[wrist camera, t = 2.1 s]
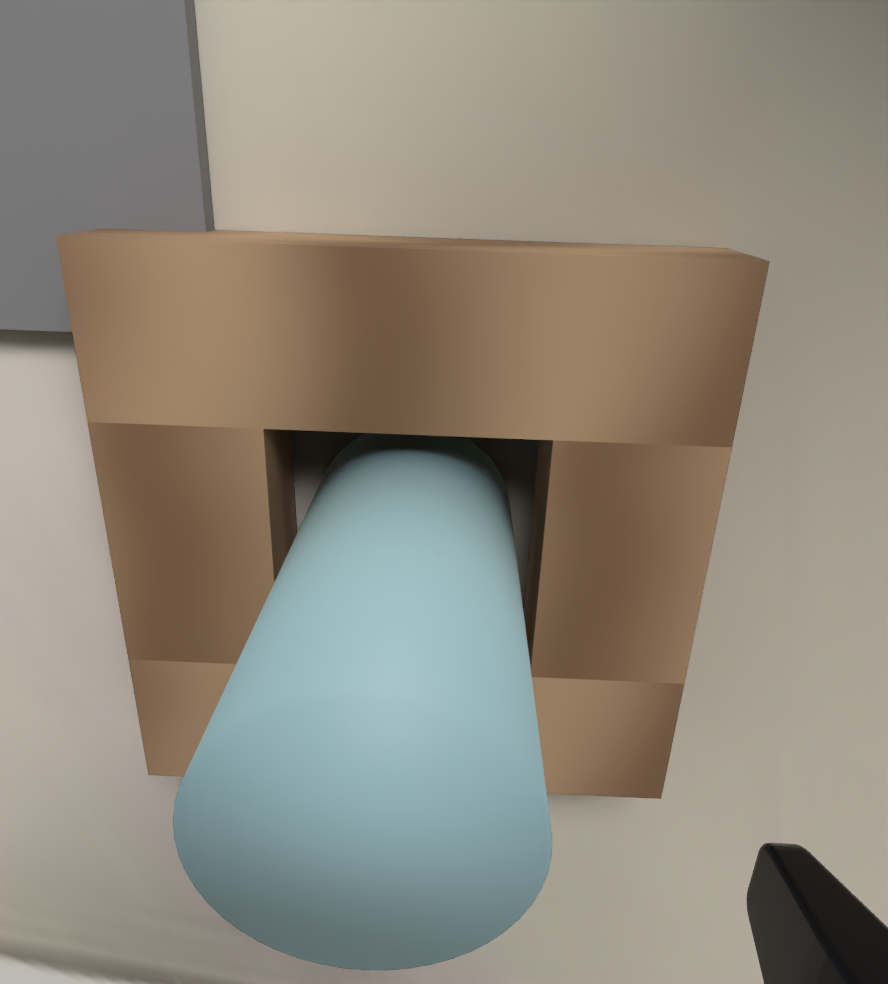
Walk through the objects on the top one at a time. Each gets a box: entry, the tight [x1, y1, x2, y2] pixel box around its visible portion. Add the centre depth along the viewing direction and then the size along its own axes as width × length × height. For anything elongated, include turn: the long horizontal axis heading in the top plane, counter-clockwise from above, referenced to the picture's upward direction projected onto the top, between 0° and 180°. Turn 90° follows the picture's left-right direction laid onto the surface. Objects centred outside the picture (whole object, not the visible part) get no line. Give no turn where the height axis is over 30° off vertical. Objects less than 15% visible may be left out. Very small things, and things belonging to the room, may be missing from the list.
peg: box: [173, 433, 552, 970], centre depth 13 cm, size 4×4×9 cm
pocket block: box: [56, 228, 769, 799], centre depth 16 cm, size 12×12×2 cm
